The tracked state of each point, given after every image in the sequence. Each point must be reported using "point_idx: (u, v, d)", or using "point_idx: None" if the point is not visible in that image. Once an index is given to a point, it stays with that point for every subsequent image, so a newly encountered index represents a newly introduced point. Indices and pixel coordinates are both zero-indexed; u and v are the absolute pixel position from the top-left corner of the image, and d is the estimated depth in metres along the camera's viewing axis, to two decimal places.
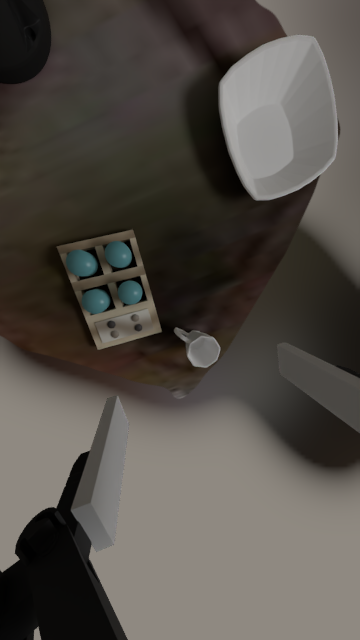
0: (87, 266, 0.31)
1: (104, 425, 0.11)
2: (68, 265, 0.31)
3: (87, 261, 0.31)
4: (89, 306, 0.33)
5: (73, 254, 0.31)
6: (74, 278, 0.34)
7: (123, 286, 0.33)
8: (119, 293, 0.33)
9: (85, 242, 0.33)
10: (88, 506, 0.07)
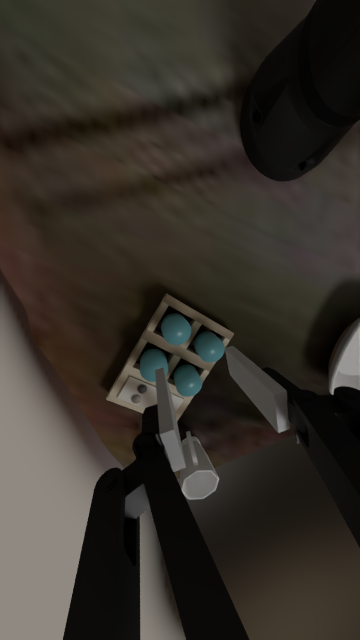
0: (179, 338, 0.28)
1: (161, 386, 0.13)
2: (166, 325, 0.27)
3: (184, 335, 0.28)
4: (145, 369, 0.28)
5: (179, 321, 0.27)
6: (153, 328, 0.30)
7: (189, 375, 0.30)
8: (180, 378, 0.29)
9: (192, 311, 0.30)
10: (171, 432, 0.09)
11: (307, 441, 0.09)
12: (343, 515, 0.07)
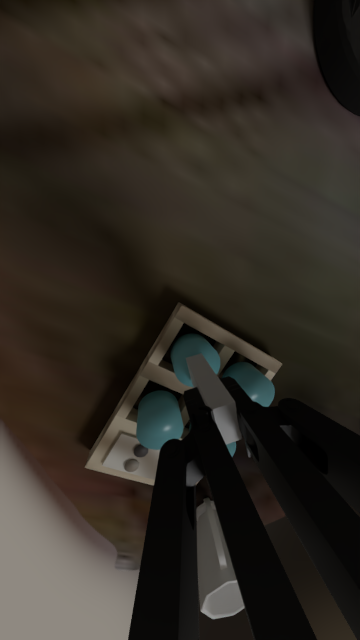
0: None
1: (197, 371, 0.14)
2: (180, 356, 0.16)
3: None
4: (146, 431, 0.17)
5: (202, 349, 0.16)
6: (158, 359, 0.18)
7: None
8: None
9: (220, 331, 0.19)
10: (220, 409, 0.10)
11: (257, 454, 0.09)
12: (296, 531, 0.07)
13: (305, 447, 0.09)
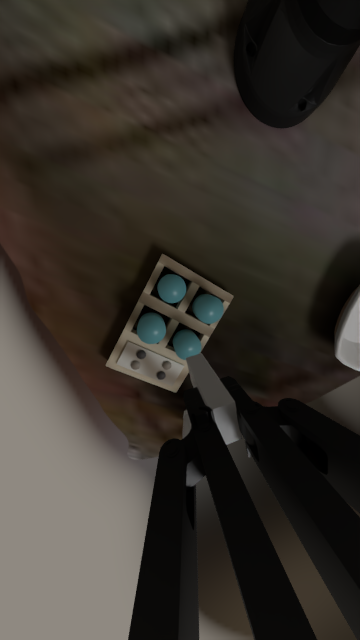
0: (175, 296, 0.28)
1: (197, 371, 0.14)
2: (161, 282, 0.28)
3: (179, 293, 0.28)
4: (143, 330, 0.27)
5: (174, 278, 0.28)
6: (149, 290, 0.29)
7: (188, 337, 0.29)
8: (179, 341, 0.29)
9: (189, 272, 0.29)
10: (220, 409, 0.10)
11: (257, 454, 0.09)
12: (296, 531, 0.07)
13: (305, 447, 0.09)
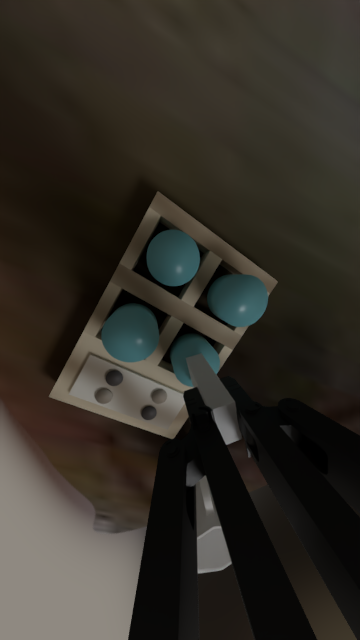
0: (179, 274, 0.15)
1: (197, 371, 0.14)
2: (153, 244, 0.14)
3: (186, 267, 0.15)
4: (114, 336, 0.14)
5: (178, 238, 0.14)
6: (132, 262, 0.16)
7: (198, 348, 0.16)
8: (182, 353, 0.16)
9: (205, 232, 0.16)
10: (220, 409, 0.10)
11: (257, 454, 0.09)
12: (296, 531, 0.07)
13: (305, 447, 0.09)
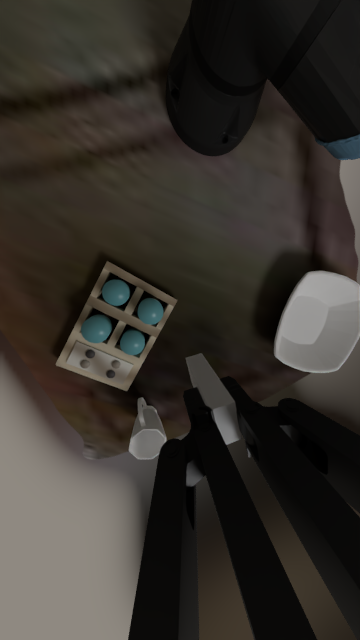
0: (119, 299, 0.31)
1: (197, 371, 0.14)
2: (105, 287, 0.30)
3: (122, 296, 0.31)
4: (86, 330, 0.30)
5: (117, 283, 0.31)
6: (96, 294, 0.32)
7: (132, 335, 0.33)
8: (124, 337, 0.33)
9: (133, 278, 0.32)
10: (220, 409, 0.10)
11: (257, 454, 0.09)
12: (296, 531, 0.07)
13: (305, 447, 0.09)
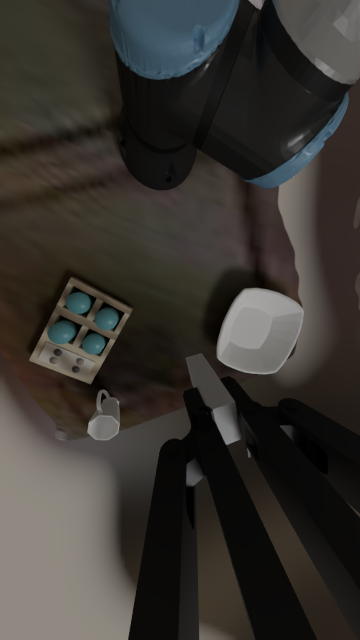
0: (80, 309, 0.38)
1: (197, 371, 0.14)
2: (68, 298, 0.37)
3: (83, 306, 0.38)
4: (52, 333, 0.37)
5: (78, 295, 0.37)
6: (62, 304, 0.38)
7: (92, 338, 0.40)
8: (85, 340, 0.40)
9: (93, 291, 0.39)
10: (220, 409, 0.10)
11: (257, 454, 0.09)
12: (296, 531, 0.07)
13: (305, 447, 0.09)
